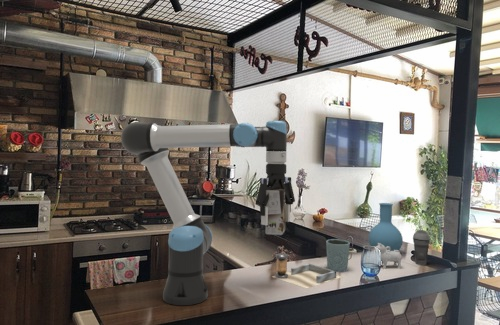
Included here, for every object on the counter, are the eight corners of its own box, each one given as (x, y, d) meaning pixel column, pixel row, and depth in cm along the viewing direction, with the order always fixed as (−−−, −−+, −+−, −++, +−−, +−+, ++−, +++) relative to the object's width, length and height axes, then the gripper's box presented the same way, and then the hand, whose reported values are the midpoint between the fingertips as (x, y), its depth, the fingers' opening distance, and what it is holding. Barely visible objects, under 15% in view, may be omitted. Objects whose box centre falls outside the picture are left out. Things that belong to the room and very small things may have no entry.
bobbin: (281, 279, 151) (281, 257, 151) (272, 276, 155) (272, 254, 154) (290, 276, 154) (290, 255, 154) (281, 273, 158) (281, 252, 158)
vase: (366, 254, 196) (367, 204, 195) (369, 247, 211) (370, 201, 210) (402, 257, 189) (403, 206, 189) (402, 250, 205) (403, 202, 204)
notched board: (306, 291, 141) (306, 281, 141) (271, 278, 154) (271, 270, 154) (342, 279, 155) (343, 270, 155) (308, 268, 169) (308, 260, 169)
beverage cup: (422, 267, 174) (423, 222, 173) (408, 263, 180) (409, 219, 180) (433, 264, 178) (433, 221, 177) (418, 261, 184) (419, 218, 183)
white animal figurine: (370, 265, 175) (370, 242, 175) (397, 265, 176) (398, 241, 176) (374, 268, 170) (375, 244, 170) (403, 268, 171) (403, 244, 171)
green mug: (337, 264, 176) (338, 238, 176) (354, 270, 168) (355, 242, 167) (320, 267, 171) (321, 240, 170) (337, 273, 162) (338, 245, 162)
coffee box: (282, 235, 139) (283, 190, 138) (265, 234, 140) (265, 189, 140) (285, 230, 147) (286, 188, 147) (269, 229, 149) (269, 187, 149)
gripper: (259, 163, 133) (259, 228, 133) (305, 163, 148) (304, 221, 148) (245, 163, 139) (245, 225, 139) (290, 162, 154) (290, 218, 154)
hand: (275, 223), depth 144 cm, fingers closed on coffee box, 11 cm apart
